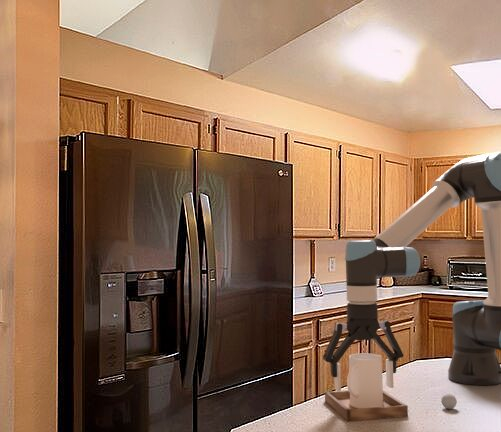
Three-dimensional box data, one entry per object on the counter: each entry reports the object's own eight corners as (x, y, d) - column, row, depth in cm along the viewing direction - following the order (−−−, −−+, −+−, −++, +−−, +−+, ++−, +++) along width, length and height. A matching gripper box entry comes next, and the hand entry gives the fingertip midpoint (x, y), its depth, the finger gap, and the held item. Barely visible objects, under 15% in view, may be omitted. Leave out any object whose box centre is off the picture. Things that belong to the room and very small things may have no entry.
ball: (452, 406, 152) (451, 391, 152) (459, 410, 148) (459, 395, 148) (438, 407, 151) (438, 392, 151) (446, 411, 147) (445, 396, 147)
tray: (379, 397, 160) (379, 388, 160) (407, 416, 144) (407, 405, 144) (325, 401, 158) (324, 392, 158) (347, 421, 141) (347, 410, 141)
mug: (360, 414, 143) (358, 363, 144) (333, 407, 150) (332, 358, 150) (391, 404, 151) (389, 356, 151) (364, 398, 157) (363, 351, 158)
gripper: (402, 298, 157) (404, 381, 157) (309, 302, 153) (311, 387, 152) (415, 301, 150) (417, 388, 149) (318, 306, 145) (320, 395, 145)
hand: (364, 388), depth 151 cm, fingers open, 13 cm apart
